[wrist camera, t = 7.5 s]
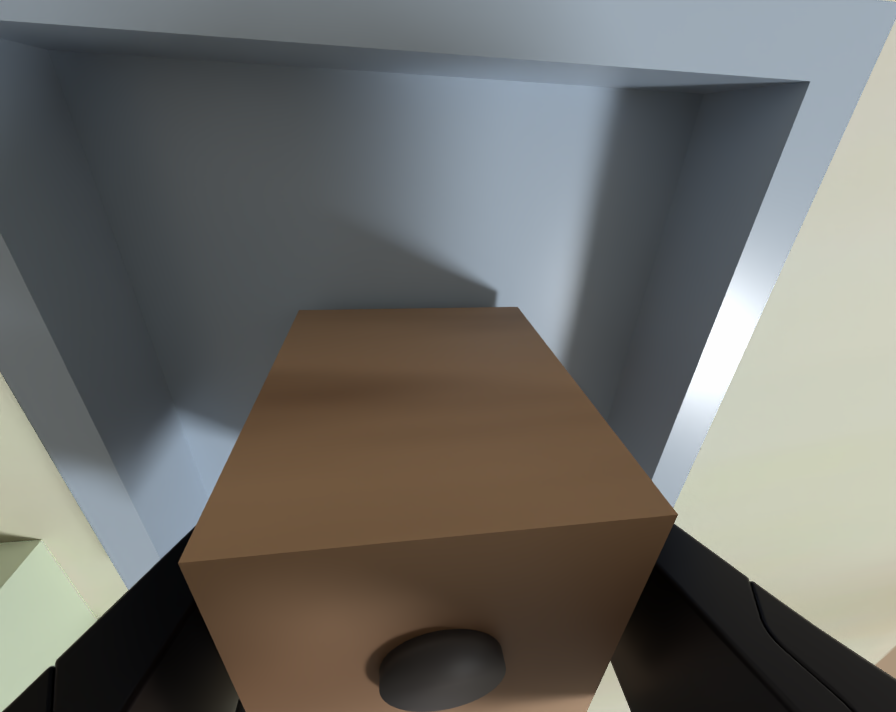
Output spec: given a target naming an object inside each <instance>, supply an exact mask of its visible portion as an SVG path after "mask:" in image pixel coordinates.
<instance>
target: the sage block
mask: <svg viewBox="0 0 896 712" xmlns="http://www.w3.org/2000/svg"><path fill="white" fill-rule="evenodd" d="M96 621H97V618H96V617H95V616H94V614H93V613H92V611H91V610H90V608H89V607H88V605H87V604H86V602H85V601H84V600H83V598H82V597H81V595H80V594H79V592H78V591H77V589H76V588H75V587H74V585H73V584H72V582H71V581H70V579H69V578H68V576H67V575H66V574H65V572H64V571H63V569H62V568H61V566H60V565H59V563H58V562H57V561H56V559H55V558H54V556H53V555H52V553H51V552H50V550H49V549H48V548H47V546H46V545H45V543H44V542H43V540H30V541H18V542H6V543H0V712H2V711H3V710H4V709H5V708H6V707H7V706H8V705H10V704H11V703H12V702H13V701H14V700H15V699H16V698H17V697H18V696H19V695H20V694H21V693H22V692H23V691H24V690H25V689H26V688H27V687H28V686H29V685H30V684H32V683H33V682H34V681H35V680H36V679H37V678H38V677H39V676H40V675H41V674H42V673H43V672H44V671H45V670H46V669H47V668H48V667H50V666H55V662H56V660H57V659H58V658H59V657H60V656H61V655H62V654H63V653H64V652H65V651H66V650H67V649H68V648H69V647H70V646H71V645H72V644H73V643H74V642H75V641H76V640H77V639H78V638H79V637H81V636H82V635H83V634H84V633H85V632H86V631H87V630H88V629H89V628H90V627H91V626H92V625H93V624H94V623H95V622H96Z"/></svg>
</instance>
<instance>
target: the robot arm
mask: <svg viewBox="0 0 896 712" xmlns="http://www.w3.org/2000/svg"><path fill="white" fill-rule="evenodd" d="M194 529H195V526H194V527H193V528H192V529H191V530H190V531H189V532H188V533H187V534H186V535H185V536H184V537H183V538H182V539H181V540H180V541H179V542H178V543H177V544H176V545H175V546H174V547H173V548H172V549H171V550H170V551H169V552H168V553H166V554H165V555H164V556H163V557H162V558H161V559H160V560H159V561H158V562H157V563H156V564H155V565H154V566H153V567H152V568H151V569H150V570H149V571H148V572H147V573H146V574H145V575H144V576H143V577H142V578H141V579H140V580H139V581H137V582H136V583H135V584H134V585H133V586H132V587H131V588H130V589H129V590H128V591H127V592H126V593H125V594H124V595H123V596H122V597H121V598H120V599H119V600H118V601H117V602H116V603H115V604H114V605H113V606H112V607H111V608H110V609H108V610H107V611H106V612H105V613H104V614H103V615H102V616H101V617H100V618H99V619H98V620H97V621H96V622H95V623H94V624H93V625H92V626H91V627H90V628H89V629H88V630H87V631H86V632H85V633H84V634H83V635H82V636H81V637H79V638H78V639H77V640H76V641H75V642H74V643H73V644H72V645H71V646H70V647H69V648H68V649H67V650H66V651H65V652H64V653H63V654H62V655H61V656H60V657H59V658H58V659H57V660H56V662H55V666H50V667H48V668H47V669H46V670H45V671H44V672H43V673H42V674H41V675H40V676H39V677H38V678H37V679H36V680H35V681H34V682H33V683H32V684H30V685H29V686H28V687H27V688H26V689H25V690H24V691H23V692H22V693H21V694H20V695H19V696H18V697H17V698H16V699H15V700H14V701H13V702H12V703H11V704H10V705H8V706H7V707H6V708H5V709H4V710H3V711H2V712H246V711H245V709H244V707H243V705H242V703H241V700H240V698H239V696H238V694H237V692H236V689H235V687H234V685H233V683H232V681H231V679H230V676H229V674H228V672H227V670H226V668H225V665H224V663H223V661H222V659H221V657H220V654H219V652H218V650H217V648H216V646H215V643H214V641H213V639H212V637H211V635H210V632H209V630H208V628H207V626H206V624H205V621H204V619H203V617H202V615H201V613H200V610H199V608H198V606H197V604H196V602H195V599H194V597H193V595H192V593H191V591H190V589H189V586H188V584H187V582H186V580H185V578H184V575H183V573H182V571H181V569H180V567H179V564H178V562H179V560H180V558H181V556H182V554H183V552H184V549H185V547H186V545H187V543H188V541H189V539H190V537H191V535H192V533H193V531H194ZM610 661H611V663H612V666H613V668H614V671H615V673H616V676H617V678H618V681H619V683H620V686H621V688H622V691H623V693H624V696H625V698H626V700H627V703H628V705H629V708H630V710H631V712H896V679H895V678H893V677H892V676H890V675H889V674H887V673H886V672H884V671H883V670H881V669H879V668H878V667H877V666H875V665H873V664H872V663H870V662H869V661H867V660H866V659H864V658H863V657H861V656H860V655H858V654H857V653H855V652H854V651H852V650H851V649H849V648H848V647H846V646H845V645H843V644H842V643H840V642H839V641H837V640H836V639H834V638H833V637H831V636H830V635H828V634H827V633H825V632H824V631H822V630H821V629H819V628H818V627H816V626H815V625H813V624H812V623H811V622H809V621H808V620H806V619H805V618H804V617H802V616H801V615H799V614H798V613H797V612H795V611H794V610H792V609H791V608H789V607H788V606H787V605H785V604H784V603H782V602H781V601H780V600H778V599H777V598H775V597H774V596H773V595H771V594H770V593H769V592H767V591H766V590H764V589H763V588H762V587H760V586H759V585H758V584H756V583H755V582H753V581H749V579H748V577H746V576H745V575H744V574H742V573H741V572H740V571H738V570H737V569H735V568H734V567H733V566H731V565H730V564H729V563H727V562H726V561H725V560H723V559H722V558H720V557H719V556H718V555H716V554H715V553H714V552H712V551H711V550H709V549H708V548H707V547H705V546H704V545H703V544H701V543H700V542H699V541H697V540H696V539H694V538H693V537H692V536H690V535H689V534H688V533H686V532H685V531H683V530H682V529H681V528H679V527H678V526H677V525H675V524H673V526H672V528H671V531H670V533H669V535H668V537H667V539H666V541H665V544H664V546H663V548H662V550H661V552H660V554H659V556H658V559H657V561H656V563H655V565H654V567H653V569H652V572H651V574H650V576H649V578H648V580H647V582H646V585H645V587H644V589H643V591H642V593H641V595H640V597H639V600H638V602H637V604H636V606H635V608H634V610H633V613H632V615H631V617H630V619H629V621H628V623H627V626H626V628H625V630H624V632H623V634H622V636H621V638H620V641H619V643H618V645H617V647H616V649H615V651H614V654H613V656H612V658H611V660H610Z"/></svg>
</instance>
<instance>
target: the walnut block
mask: <svg viewBox="0 0 896 712" xmlns="http://www.w3.org/2000/svg"><path fill="white" fill-rule="evenodd" d="M677 516H678V514H677V513H676V511H675V510H674V509H673V508H672V506H671V505H670V504H669V502H668V501H667V500H666V498H665V497H664V496H663V495H662V493H661V492H660V491H659V489H658V488H657V487H656V485H655V484H654V483H653V482H652V480H651V479H650V478H649V476H648V475H647V474H646V473H645V471H644V470H643V469H642V467H641V466H640V465H639V463H638V462H637V461H636V460H635V458H634V457H633V456H632V454H631V453H630V452H629V450H628V449H627V448H626V447H625V445H624V444H623V443H622V441H621V440H620V439H619V438H618V436H617V435H616V434H615V432H614V431H613V430H612V428H611V427H610V426H609V425H608V423H607V422H606V421H605V419H604V418H603V417H602V415H601V414H600V413H599V412H598V410H597V409H596V408H595V406H594V405H593V404H592V403H591V401H590V400H589V399H588V397H587V396H586V395H585V393H584V392H583V391H582V390H581V388H580V387H579V386H578V384H577V383H576V382H575V380H574V379H573V378H572V377H571V375H570V374H569V373H568V371H567V370H566V369H565V368H564V366H563V365H562V364H561V362H560V361H559V360H558V358H557V357H556V356H555V355H554V353H553V352H552V351H551V349H550V348H549V347H548V345H547V344H546V343H545V342H544V340H543V339H542V338H541V336H540V335H539V334H538V333H537V331H536V330H535V329H534V327H533V326H532V325H531V323H530V322H529V321H528V320H527V318H526V317H525V316H524V314H523V313H522V312H521V311H520V309H519V308H518V307H471V308H406V309H341V310H299V311H298V313H297V315H296V317H295V320H294V322H293V324H292V326H291V328H290V330H289V332H288V334H287V336H286V338H285V340H284V343H283V345H282V347H281V349H280V351H279V353H278V355H277V357H276V359H275V361H274V363H273V366H272V368H271V370H270V372H269V374H268V376H267V378H266V380H265V382H264V384H263V386H262V389H261V391H260V393H259V395H258V397H257V399H256V401H255V403H254V405H253V407H252V409H251V412H250V414H249V416H248V418H247V420H246V422H245V424H244V426H243V428H242V430H241V432H240V435H239V437H238V439H237V441H236V443H235V445H234V447H233V449H232V451H231V453H230V455H229V457H228V460H227V462H226V464H225V466H224V468H223V470H222V472H221V474H220V476H219V478H218V480H217V483H216V485H215V487H214V489H213V491H212V493H211V495H210V497H209V499H208V501H207V503H206V506H205V508H204V510H203V512H202V514H201V516H200V518H199V520H198V522H197V524H196V526H195V529H194V531H193V533H192V535H191V537H190V539H189V541H188V543H187V545H186V547H185V549H184V552H183V554H182V556H181V558H180V560H179V562H178V564H179V567H180V569H181V571H182V573H183V575H184V578H185V580H186V582H187V584H188V586H189V589H190V591H191V593H192V595H193V597H194V599H195V602H196V604H197V606H198V608H199V610H200V613H201V615H202V617H203V619H204V621H205V624H206V626H207V628H208V630H209V632H210V635H211V637H212V639H213V641H214V643H215V646H216V648H217V650H218V652H219V654H220V657H221V659H222V661H223V663H224V665H225V668H226V670H227V672H228V674H229V676H230V679H231V681H232V683H233V685H234V687H235V689H236V692H237V694H238V696H239V698H240V700H241V703H242V705H243V707H244V709H245V711H246V712H587V710H588V707H589V705H590V703H591V701H592V699H593V697H594V695H595V692H596V690H597V688H598V686H599V684H600V682H601V679H602V677H603V675H604V673H605V671H606V669H607V667H608V664H609V662H610V660H611V658H612V656H613V654H614V651H615V649H616V647H617V645H618V643H619V641H620V638H621V636H622V634H623V632H624V630H625V628H626V626H627V623H628V621H629V619H630V617H631V615H632V613H633V610H634V608H635V606H636V604H637V602H638V600H639V597H640V595H641V593H642V591H643V589H644V587H645V585H646V582H647V580H648V578H649V576H650V574H651V572H652V569H653V567H654V565H655V563H656V561H657V559H658V556H659V554H660V552H661V550H662V548H663V546H664V544H665V541H666V539H667V537H668V535H669V533H670V531H671V528H672V526H673V524H674V522H675V520H676V518H677Z"/></svg>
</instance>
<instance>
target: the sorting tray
mask: <svg viewBox="0 0 896 712" xmlns="http://www.w3.org/2000/svg"><path fill="white" fill-rule="evenodd" d="M895 19H896V2H892V1H882V0H0V372H1V374H2V375H3V377H4V379H5V381H6V382H7V384H8V386H9V387H10V389H11V391H12V392H13V394H14V396H15V398H16V399H17V401H18V403H19V404H20V406H21V408H22V410H23V411H24V413H25V415H26V416H27V418H28V420H29V421H30V423H31V425H32V427H33V428H34V430H35V432H36V433H37V435H38V437H39V439H40V440H41V442H42V444H43V445H44V447H45V449H46V450H47V452H48V454H49V456H50V457H51V459H52V461H53V462H54V464H55V466H56V468H57V469H58V471H59V473H60V474H61V476H62V478H63V479H64V481H65V483H66V485H67V486H68V488H69V490H70V491H71V493H72V495H73V496H74V498H75V500H76V502H77V503H78V505H79V507H80V508H81V510H82V512H83V514H84V515H85V517H86V519H87V520H88V522H89V524H90V525H91V527H92V529H93V531H94V532H95V534H96V536H97V537H98V539H99V541H100V543H101V544H102V546H103V548H104V549H105V551H106V553H107V554H108V556H109V558H110V560H111V561H112V563H113V565H114V566H115V568H116V570H117V572H118V573H119V575H120V577H121V578H122V580H123V582H124V583H125V585H126V587H127V589H128V590H129V589H130V588H131V587H132V586H133V585H134V584H135V583H136V582H137V581H139V580H140V579H141V578H142V577H143V576H144V575H145V574H146V573H147V572H148V571H149V570H150V569H151V568H152V567H153V566H154V565H155V564H156V563H157V562H158V561H159V560H160V559H161V558H162V557H163V556H164V555H165V554H166V553H168V552H169V551H170V550H171V549H172V548H173V547H174V546H175V545H176V544H177V543H178V542H179V541H180V540H181V539H182V538H183V537H184V536H185V535H186V534H187V533H188V532H189V531H190V530H191V529H192V528H193V527H194V526H196V524H197V522H198V520H199V518H200V516H201V514H202V512H203V510H204V508H205V506H206V503H207V501H208V499H209V497H210V495H211V493H212V491H213V489H214V487H215V485H216V483H217V480H218V478H219V476H220V474H221V472H222V470H223V468H224V466H225V464H226V462H227V460H228V457H229V455H230V453H231V451H232V449H233V447H234V445H235V443H236V441H237V439H238V437H239V435H240V432H241V430H242V428H243V426H244V424H245V422H246V420H247V418H248V416H249V414H250V412H251V409H252V407H253V405H254V403H255V401H256V399H257V397H258V395H259V393H260V391H261V389H262V386H263V384H264V382H265V380H266V378H267V376H268V374H269V372H270V370H271V368H272V366H273V363H274V361H275V359H276V357H277V355H278V353H279V351H280V349H281V347H282V345H283V343H284V340H285V338H286V336H287V334H288V332H289V330H290V328H291V326H292V324H293V322H294V320H295V317H296V315H297V313H298V311H299V310H341V309H406V308H471V307H518V308H519V309H520V311H521V312H522V313H523V314H524V316H525V317H526V318H527V320H528V321H529V322H530V323H531V325H532V326H533V327H534V329H535V330H536V331H537V333H538V334H539V335H540V336H541V338H542V339H543V340H544V342H545V343H546V344H547V345H548V347H549V348H550V349H551V351H552V352H553V353H554V355H555V356H556V357H557V358H558V360H559V361H560V362H561V364H562V365H563V366H564V368H565V369H566V370H567V371H568V373H569V374H570V375H571V377H572V378H573V379H574V380H575V382H576V383H577V384H578V386H579V387H580V388H581V390H582V391H583V392H584V393H585V395H586V396H587V397H588V399H589V400H590V401H591V403H592V404H593V405H594V406H595V408H596V409H597V410H598V412H599V413H600V414H601V415H602V417H603V418H604V419H605V421H606V422H607V423H608V425H609V426H610V427H611V428H612V430H613V431H614V432H615V434H616V435H617V436H618V438H619V439H620V440H621V441H622V443H623V444H624V445H625V447H626V448H627V449H628V450H629V452H630V453H631V454H632V456H633V457H634V458H635V460H636V461H637V462H638V463H639V465H640V466H641V467H642V469H643V470H644V471H645V473H646V474H647V475H648V476H649V478H650V479H651V480H652V482H653V483H654V484H655V485H656V487H657V488H658V489H659V491H660V492H661V493H662V495H663V496H664V497H665V498H666V500H667V501H668V502H669V504H670V505H671V506H672V508H673V507H674V505H675V503H676V500H677V498H678V496H679V494H680V492H681V489H682V487H683V485H684V483H685V481H686V478H687V476H688V474H689V472H690V470H691V467H692V465H693V463H694V461H695V459H696V456H697V454H698V452H699V450H700V448H701V445H702V443H703V441H704V439H705V437H706V434H707V432H708V430H709V428H710V426H711V424H712V421H713V419H714V417H715V415H716V413H717V410H718V408H719V406H720V404H721V402H722V399H723V397H724V395H725V393H726V391H727V388H728V386H729V384H730V382H731V380H732V377H733V375H734V373H735V371H736V369H737V366H738V364H739V362H740V360H741V358H742V355H743V353H744V351H745V349H746V347H747V344H748V342H749V340H750V338H751V336H752V333H753V331H754V329H755V327H756V325H757V322H758V320H759V318H760V316H761V314H762V311H763V309H764V307H765V305H766V303H767V300H768V298H769V296H770V294H771V292H772V289H773V287H774V285H775V283H776V281H777V279H778V276H779V274H780V272H781V270H782V268H783V265H784V263H785V261H786V259H787V257H788V254H789V252H790V250H791V248H792V246H793V243H794V241H795V239H796V237H797V235H798V232H799V230H800V228H801V226H802V224H803V221H804V219H805V217H806V215H807V213H808V210H809V208H810V206H811V204H812V202H813V199H814V197H815V195H816V193H817V191H818V188H819V186H820V184H821V182H822V180H823V177H824V175H825V173H826V171H827V169H828V166H829V164H830V162H831V160H832V158H833V155H834V153H835V151H836V149H837V147H838V144H839V142H840V140H841V138H842V136H843V134H844V131H845V129H846V127H847V125H848V123H849V120H850V118H851V116H852V114H853V112H854V109H855V107H856V105H857V103H858V101H859V98H860V96H861V94H862V92H863V90H864V87H865V85H866V83H867V81H868V79H869V76H870V74H871V72H872V70H873V68H874V65H875V63H876V61H877V59H878V57H879V54H880V52H881V50H882V48H883V46H884V43H885V41H886V39H887V37H888V35H889V32H890V30H891V28H892V26H893V24H894V21H895Z"/></svg>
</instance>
